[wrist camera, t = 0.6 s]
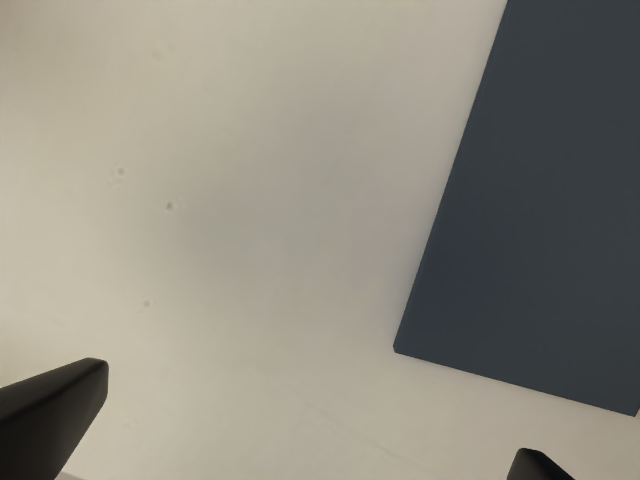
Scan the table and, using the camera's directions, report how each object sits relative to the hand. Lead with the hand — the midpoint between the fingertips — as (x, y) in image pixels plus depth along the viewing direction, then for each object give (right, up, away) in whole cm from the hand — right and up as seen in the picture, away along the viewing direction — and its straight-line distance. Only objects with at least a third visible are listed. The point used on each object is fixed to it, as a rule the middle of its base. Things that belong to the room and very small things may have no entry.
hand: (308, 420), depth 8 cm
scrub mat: (+14, +5, +12) cm, 19 cm away
